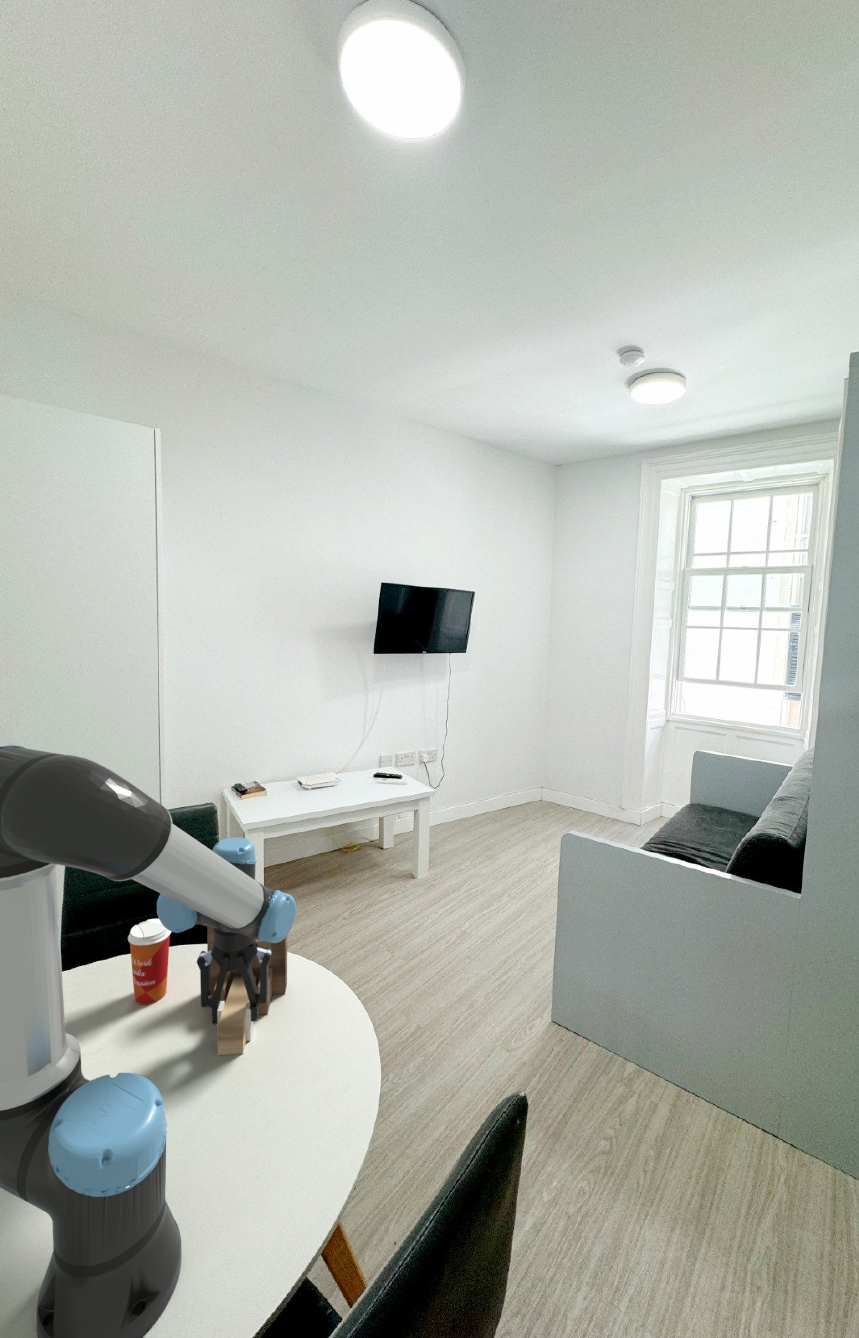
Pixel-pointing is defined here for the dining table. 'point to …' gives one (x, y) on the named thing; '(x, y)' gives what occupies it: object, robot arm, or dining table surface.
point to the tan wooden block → (233, 1020)
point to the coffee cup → (149, 960)
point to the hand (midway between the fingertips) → (235, 1036)
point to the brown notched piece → (255, 970)
